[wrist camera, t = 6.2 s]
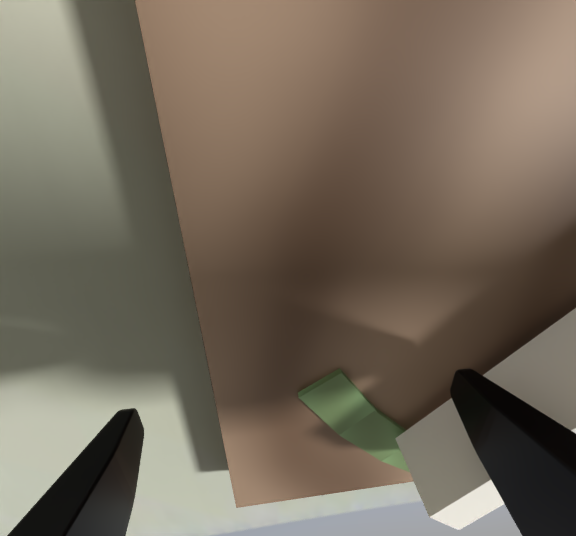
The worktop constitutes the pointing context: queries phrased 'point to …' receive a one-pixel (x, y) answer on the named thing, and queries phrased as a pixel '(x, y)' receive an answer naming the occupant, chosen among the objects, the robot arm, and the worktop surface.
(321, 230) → the board
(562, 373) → the dial needle
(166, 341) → the worktop surface
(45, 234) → the worktop surface
